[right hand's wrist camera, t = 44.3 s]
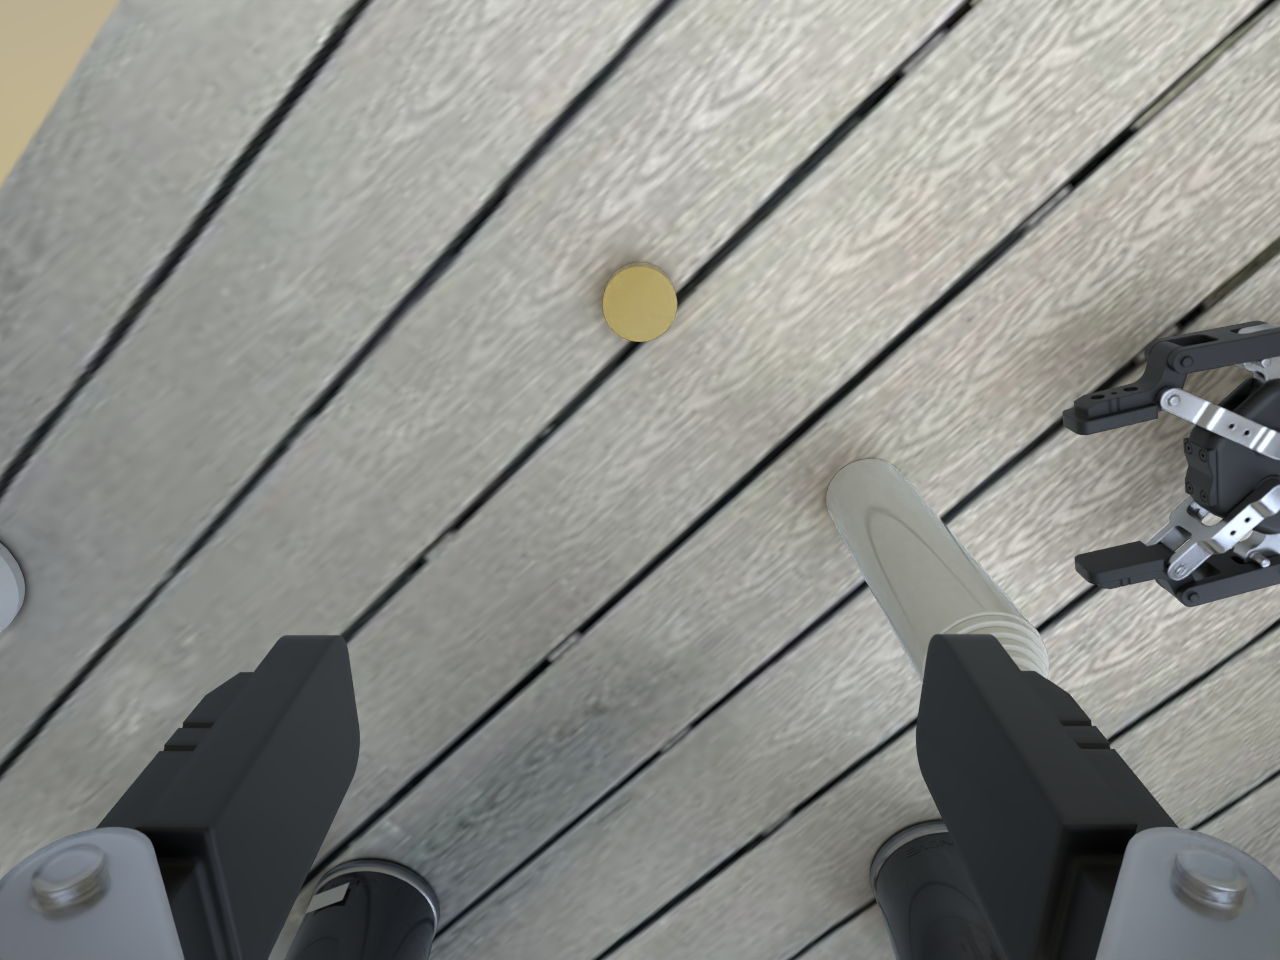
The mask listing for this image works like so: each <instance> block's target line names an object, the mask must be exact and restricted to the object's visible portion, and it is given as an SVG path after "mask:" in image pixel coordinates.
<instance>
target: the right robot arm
mask: <svg viewBox="0 0 1280 960" xmlns="http://www.w3.org/2000/svg"><path fill="white" fill-rule="evenodd" d="M1109 744H1110V743H1109V742H1108V741H1107V739H1106V738H1105V737H1104V736H1103V735H1102V733H1101V732H1100V731H1099V730H1098V728H1097V727H1096V726H1092V725H1091V720H1090V719H1089V717H1088V716H1087V715H1086V714H1085V713H1084V711H1083V710H1082V709H1081V708H1080V706H1079V705H1078V704H1077V703H1076V702H1075V700H1074V699H1073V698H1072V697H1071V695H1070V694H1069V693H1067V692H1066V691H1064V690H1063V689H1061V688H1060V687H1058V686H1057V685H1055V684H1054V683H1052V682H1051V681H1049V680H1048V679H1046V678H1045V677H1043V676H1042V675H1040V674H1039V673H1037V672H1036V671H1021V670H1020V669H1019V667H1018V666H1017V665H1016V663H1015V662H1014V661H1013V659H1012V658H1011V657H1010V655H1009V654H1008V653H1007V651H1006V650H1005V649H1004V647H1003V646H1002V645H1001V644H1000V642H999V641H998V640H997V638H996V637H995V636H993V635H991V634H935V635H934V636H933V637H932V638H931V640H930V642H929V645H928V650H927V656H926V663H925V670H924V678H923V685H922V692H921V699H920V706H919V713H918V720H917V728H916V748H917V756H918V761H919V766H920V770H921V773H922V775H923V778H924V780H925V782H926V784H927V787H928V789H929V791H930V793H931V795H932V797H933V799H934V802H935V804H936V806H937V808H938V810H939V812H940V815H941V817H942V819H943V821H944V823H945V825H946V827H947V830H948V832H949V834H950V836H951V838H952V840H953V842H954V845H955V847H956V849H957V851H958V853H959V855H960V858H961V860H962V862H963V864H964V866H965V868H966V870H967V873H968V875H969V877H970V879H971V881H972V883H973V885H974V888H975V890H976V892H977V894H978V896H979V898H980V900H981V903H982V905H983V907H984V909H985V911H986V913H987V916H988V918H989V920H990V922H991V924H992V926H993V928H994V931H995V933H996V935H997V937H998V939H999V941H1000V943H1001V946H1002V948H1003V950H1004V952H1005V954H1006V956H1007V959H1008V960H1280V880H1279V879H1278V878H1277V877H1276V876H1275V875H1274V874H1273V873H1272V872H1271V871H1270V870H1269V869H1268V868H1266V867H1265V866H1264V865H1262V864H1261V863H1260V862H1259V861H1257V860H1256V859H1255V858H1253V857H1251V856H1250V855H1248V854H1247V853H1245V852H1244V851H1242V850H1240V849H1238V848H1236V847H1235V846H1233V845H1231V844H1229V843H1227V842H1224V841H1222V840H1220V839H1217V838H1215V837H1212V836H1209V835H1206V834H1204V833H1201V832H1197V831H1192V830H1188V829H1183V828H1178V826H1177V825H1176V824H1175V823H1174V821H1173V820H1172V819H1171V818H1170V817H1169V815H1168V814H1167V813H1166V812H1165V810H1164V809H1163V808H1162V807H1161V806H1160V804H1159V803H1158V802H1157V801H1156V799H1155V798H1154V797H1153V796H1152V795H1151V793H1150V792H1149V791H1148V790H1147V788H1146V787H1145V786H1144V785H1143V783H1142V782H1141V781H1140V780H1139V779H1138V777H1137V776H1136V775H1135V774H1134V772H1133V771H1132V770H1131V769H1130V768H1129V766H1128V765H1127V764H1126V763H1125V761H1124V760H1123V759H1122V758H1121V757H1120V755H1119V754H1118V753H1117V752H1116V750H1115V749H1110V745H1109ZM164 746H165V748H164V751H159V752H158V754H157V755H156V756H155V757H154V759H153V760H152V761H151V762H150V763H149V765H148V766H147V767H146V768H145V769H144V771H143V772H142V773H141V774H140V776H139V777H138V778H137V779H136V780H135V782H134V783H133V784H132V785H131V786H130V788H129V789H128V790H127V791H126V793H125V794H124V795H123V796H122V797H121V799H120V800H119V801H118V802H117V803H116V805H115V806H114V807H113V808H112V809H111V811H110V812H109V813H108V814H107V816H106V817H105V818H104V819H103V820H102V822H101V823H100V824H99V825H98V826H97V828H96V829H92V830H88V831H83V832H79V833H76V834H74V835H71V836H68V837H65V838H63V839H60V840H58V841H56V842H53V843H51V844H49V845H47V846H45V847H44V848H42V849H40V850H38V851H36V852H35V853H33V854H32V855H30V856H29V857H27V858H25V859H24V860H23V861H21V862H20V863H19V864H18V865H16V866H15V867H14V868H12V869H11V870H10V871H9V872H8V873H7V874H6V875H5V876H4V877H3V878H2V879H1V880H0V960H268V957H269V955H270V953H271V951H272V949H273V947H274V945H275V943H276V940H277V938H278V936H279V934H280V932H281V930H282V928H283V926H284V923H285V921H286V919H287V917H288V915H289V913H290V911H291V909H292V906H293V904H294V902H295V900H296V898H297V896H298V894H299V892H300V889H301V887H302V885H303V883H304V881H305V879H306V877H307V875H308V873H309V870H310V868H311V866H312V864H313V862H314V860H315V858H316V856H317V853H318V851H319V849H320V847H321V845H322V843H323V841H324V839H325V836H326V834H327V832H328V830H329V828H330V826H331V824H332V822H333V819H334V817H335V815H336V813H337V811H338V809H339V807H340V805H341V802H342V800H343V798H344V796H345V794H346V792H347V790H348V788H349V785H350V783H351V781H352V779H353V776H354V774H355V770H356V766H357V762H358V756H359V747H360V732H359V723H358V716H357V709H356V702H355V695H354V688H353V681H352V674H351V667H350V660H349V653H348V648H347V645H346V642H345V640H344V639H343V637H341V636H339V635H286V636H283V637H281V638H280V639H279V640H278V641H277V643H276V644H275V645H274V646H273V648H272V649H271V650H270V652H269V653H268V654H267V656H266V657H265V658H264V659H263V661H262V662H261V663H260V665H259V666H258V667H257V669H256V670H255V671H254V672H240V673H238V674H237V675H235V676H234V677H232V678H231V679H229V680H228V681H227V682H225V683H224V684H222V685H221V686H219V687H218V688H216V689H215V690H213V691H212V692H210V693H209V694H207V695H206V696H205V697H204V698H203V699H202V700H201V702H200V703H199V704H198V705H197V706H196V708H195V709H194V710H193V711H192V712H191V714H190V715H189V716H188V717H187V719H186V720H185V721H184V722H183V728H178V729H177V731H176V732H175V733H174V734H173V736H172V737H171V738H170V739H169V740H168V742H167V743H166V744H165V745H164ZM439 916H440V909H439V904H438V900H437V898H436V895H435V894H434V892H433V890H432V889H431V887H430V886H429V885H428V884H427V883H426V882H425V881H424V880H423V879H422V878H421V877H420V876H418V875H417V874H415V873H414V872H412V871H411V870H409V869H407V868H405V867H403V866H400V865H397V864H394V863H391V862H386V861H380V860H358V861H352V862H348V863H345V864H342V865H340V866H338V867H336V868H334V869H332V870H331V871H329V872H328V873H327V874H326V875H324V876H323V877H322V879H321V880H320V881H319V883H318V884H317V886H316V888H315V890H314V892H313V894H312V897H311V899H310V902H309V905H308V909H307V911H306V913H305V916H304V918H303V920H302V923H301V925H300V927H299V929H298V931H297V933H296V935H295V937H294V940H293V942H292V944H291V946H290V948H289V951H288V953H287V955H286V957H285V960H428V958H429V955H430V951H431V947H432V945H431V942H432V940H433V938H434V936H435V933H436V929H437V925H438V922H439Z"/></svg>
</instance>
